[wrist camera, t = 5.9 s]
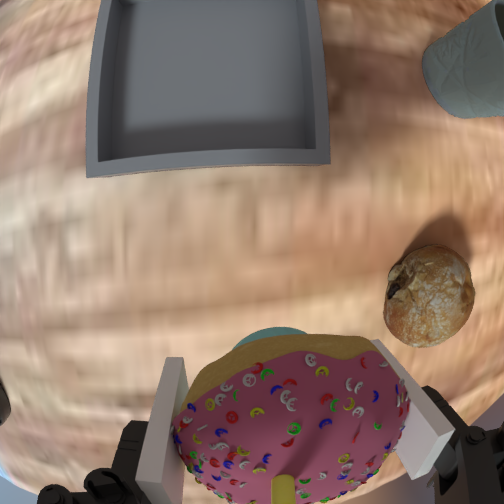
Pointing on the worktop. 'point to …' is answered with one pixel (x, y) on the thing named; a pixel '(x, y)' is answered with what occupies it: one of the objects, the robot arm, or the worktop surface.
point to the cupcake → (291, 418)
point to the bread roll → (428, 296)
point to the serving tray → (206, 86)
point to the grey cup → (469, 65)
